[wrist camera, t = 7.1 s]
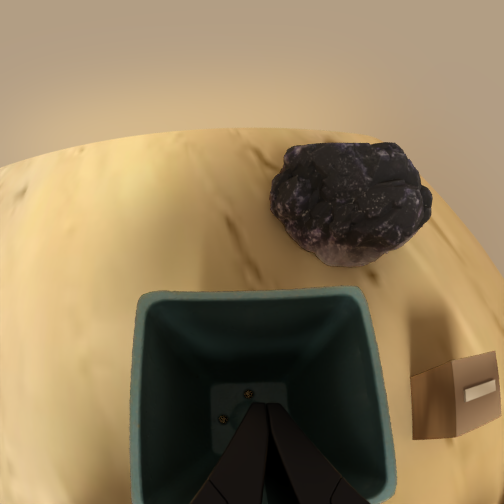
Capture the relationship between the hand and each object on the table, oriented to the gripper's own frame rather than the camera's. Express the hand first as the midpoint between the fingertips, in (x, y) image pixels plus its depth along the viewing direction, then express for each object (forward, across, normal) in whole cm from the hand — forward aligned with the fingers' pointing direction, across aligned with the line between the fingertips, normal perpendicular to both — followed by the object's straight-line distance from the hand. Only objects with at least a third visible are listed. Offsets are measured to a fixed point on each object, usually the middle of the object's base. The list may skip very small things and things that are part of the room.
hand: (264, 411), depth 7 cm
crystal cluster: (+19, -8, -5) cm, 21 cm away
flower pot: (+6, 0, +7) cm, 9 cm away
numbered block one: (+6, -14, +7) cm, 17 cm away
